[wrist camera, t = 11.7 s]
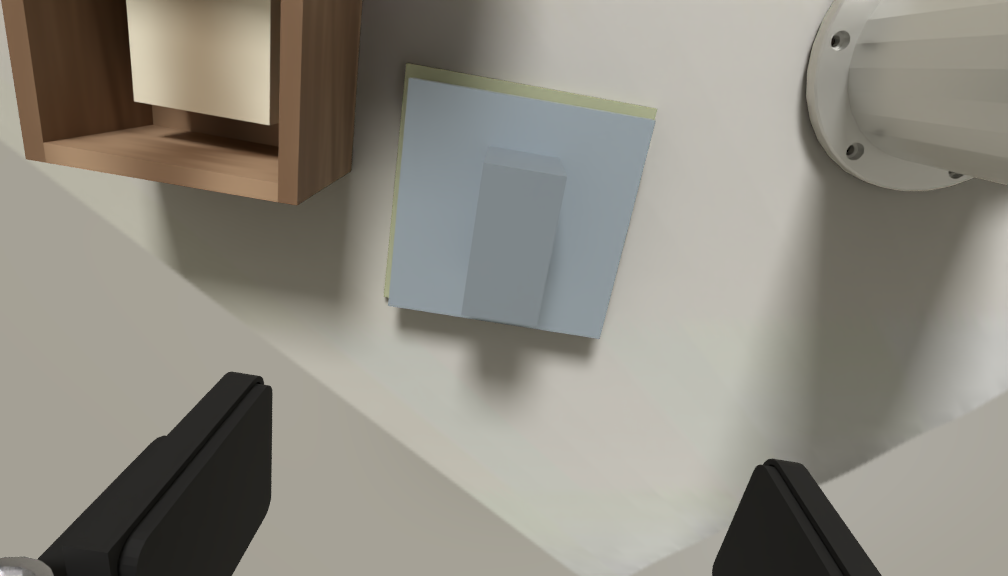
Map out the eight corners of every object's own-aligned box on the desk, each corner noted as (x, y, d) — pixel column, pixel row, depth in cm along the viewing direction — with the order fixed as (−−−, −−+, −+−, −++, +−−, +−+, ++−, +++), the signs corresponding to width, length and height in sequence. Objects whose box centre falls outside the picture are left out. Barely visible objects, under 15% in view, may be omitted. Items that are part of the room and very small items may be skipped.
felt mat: (655, 108, 29) (657, 109, 28) (597, 329, 34) (598, 332, 33) (407, 63, 28) (405, 62, 28) (385, 294, 33) (383, 296, 33)
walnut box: (366, -59, 26) (306, -108, 19) (351, 171, 30) (297, 205, 23) (131, -104, 26) (-26, -173, 18) (148, 135, 30) (26, 159, 22)
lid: (646, 117, 28) (684, 132, 22) (594, 323, 33) (613, 387, 26) (416, 76, 28) (385, 80, 21) (395, 292, 32) (365, 348, 26)
